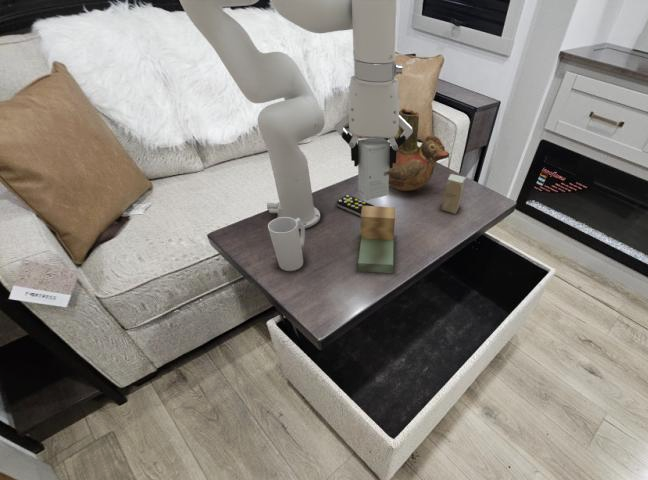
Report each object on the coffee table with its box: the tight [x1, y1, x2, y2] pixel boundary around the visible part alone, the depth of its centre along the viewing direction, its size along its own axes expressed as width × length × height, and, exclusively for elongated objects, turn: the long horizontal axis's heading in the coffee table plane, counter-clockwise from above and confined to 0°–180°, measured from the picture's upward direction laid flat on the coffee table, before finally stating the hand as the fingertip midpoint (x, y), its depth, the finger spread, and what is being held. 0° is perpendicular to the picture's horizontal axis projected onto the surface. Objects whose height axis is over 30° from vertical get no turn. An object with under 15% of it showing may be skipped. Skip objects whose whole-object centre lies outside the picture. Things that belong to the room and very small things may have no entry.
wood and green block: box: [357, 205, 396, 274], centre depth 90 cm, size 9×16×10 cm, turn 0°
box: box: [441, 173, 467, 215], centre depth 108 cm, size 5×4×11 cm
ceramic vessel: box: [383, 107, 451, 192], centre depth 112 cm, size 17×26×25 cm, turn 77°
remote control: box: [336, 194, 375, 217], centre depth 108 cm, size 6×13×2 cm, turn 57°
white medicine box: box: [357, 137, 391, 201], centre depth 76 cm, size 6×4×12 cm
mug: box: [267, 217, 306, 272], centre depth 85 cm, size 10×7×12 cm, turn 151°
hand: (373, 164), depth 75 cm, fingers closed on white medicine box, 7 cm apart
